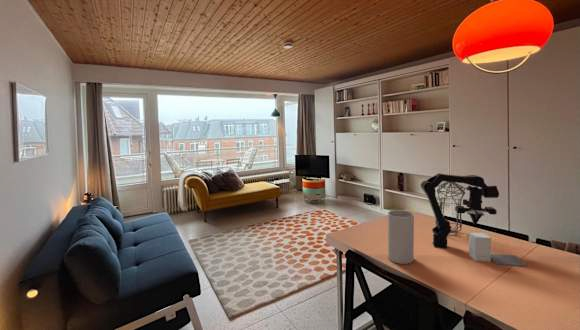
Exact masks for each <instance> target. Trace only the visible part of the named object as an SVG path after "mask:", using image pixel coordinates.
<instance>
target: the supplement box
mask: <svg viewBox="0 0 580 330" xmlns="http://www.w3.org/2000/svg"><path fill="white" fill-rule="evenodd" d="M468 238H469V240H468V242H469V243H468V256H469V257H470V258H471V259H472V260H474V261H475V262H489V263H490V262H492V260H491V254H492V237H491V236H489V235H488V234H486V233H485V232H469V237H468Z"/></svg>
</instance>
